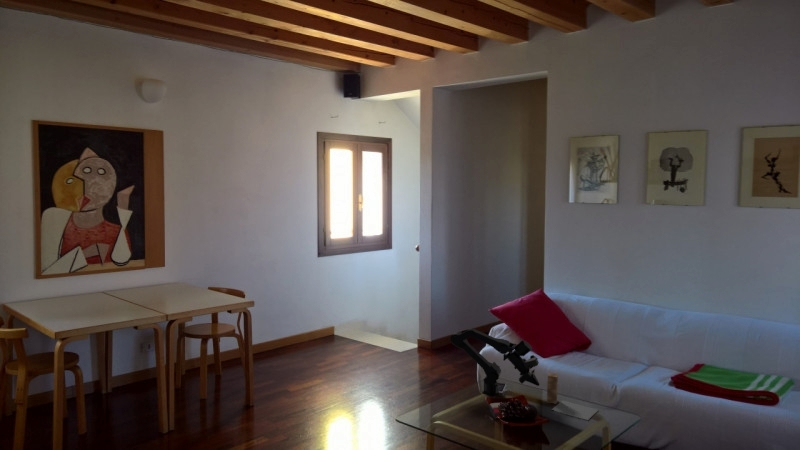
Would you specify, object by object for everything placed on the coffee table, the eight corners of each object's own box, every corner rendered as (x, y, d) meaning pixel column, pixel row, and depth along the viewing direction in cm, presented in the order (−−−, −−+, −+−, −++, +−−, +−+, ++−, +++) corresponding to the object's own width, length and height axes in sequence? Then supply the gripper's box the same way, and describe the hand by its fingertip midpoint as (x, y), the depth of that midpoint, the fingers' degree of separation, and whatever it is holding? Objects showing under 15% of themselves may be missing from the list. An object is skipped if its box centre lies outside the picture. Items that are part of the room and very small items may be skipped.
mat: (551, 410, 288) (551, 409, 287) (562, 401, 298) (562, 400, 298) (587, 420, 277) (587, 419, 277) (598, 410, 288) (598, 409, 288)
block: (546, 402, 296) (547, 375, 295) (547, 399, 301) (548, 372, 299) (556, 404, 295) (557, 377, 293) (557, 400, 299) (558, 374, 297)
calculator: (488, 402, 289) (519, 400, 290) (489, 411, 289) (519, 408, 290) (494, 412, 278) (525, 409, 279) (494, 421, 278) (525, 418, 279)
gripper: (526, 357, 291) (548, 382, 288) (531, 346, 308) (552, 369, 305) (509, 371, 294) (531, 395, 292) (516, 359, 312) (537, 382, 309)
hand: (538, 385), depth 299 cm, fingers closed
